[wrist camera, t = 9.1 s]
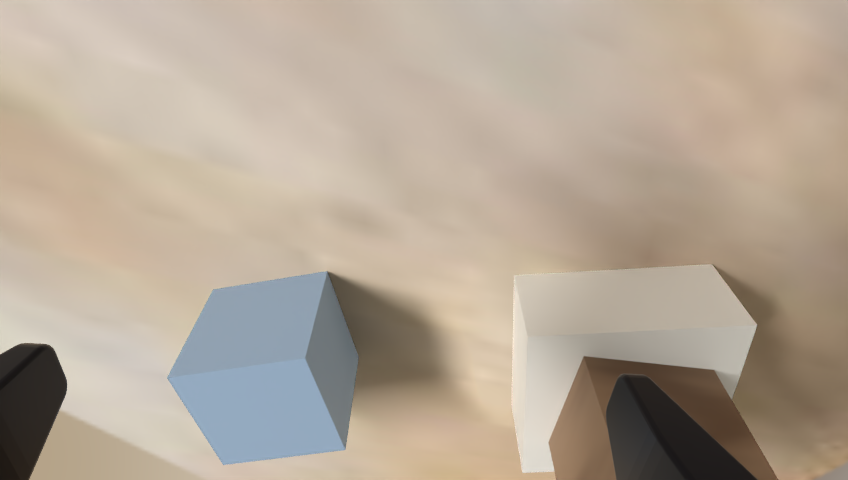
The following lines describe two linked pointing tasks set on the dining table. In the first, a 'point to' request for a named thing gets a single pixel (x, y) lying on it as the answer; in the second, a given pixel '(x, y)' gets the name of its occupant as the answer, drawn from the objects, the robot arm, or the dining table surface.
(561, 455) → the walnut cube
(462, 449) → the dining table surface
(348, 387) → the slate-blue cube
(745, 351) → the pedestal block
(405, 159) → the dining table surface
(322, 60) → the dining table surface
